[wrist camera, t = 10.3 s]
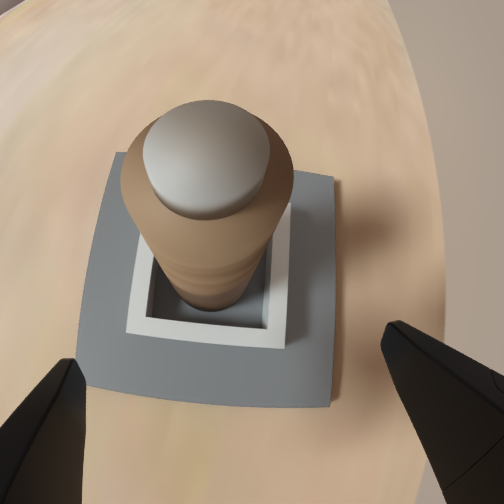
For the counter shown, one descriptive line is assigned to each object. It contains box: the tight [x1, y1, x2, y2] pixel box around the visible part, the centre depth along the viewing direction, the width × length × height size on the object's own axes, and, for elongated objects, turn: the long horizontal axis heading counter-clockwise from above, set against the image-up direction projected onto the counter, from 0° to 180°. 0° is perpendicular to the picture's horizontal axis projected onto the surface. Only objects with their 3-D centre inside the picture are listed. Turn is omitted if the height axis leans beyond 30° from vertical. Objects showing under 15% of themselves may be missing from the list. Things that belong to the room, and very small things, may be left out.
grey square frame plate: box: [75, 152, 336, 408], centre depth 19 cm, size 16×16×3 cm
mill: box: [120, 100, 294, 312], centre depth 13 cm, size 5×5×13 cm
